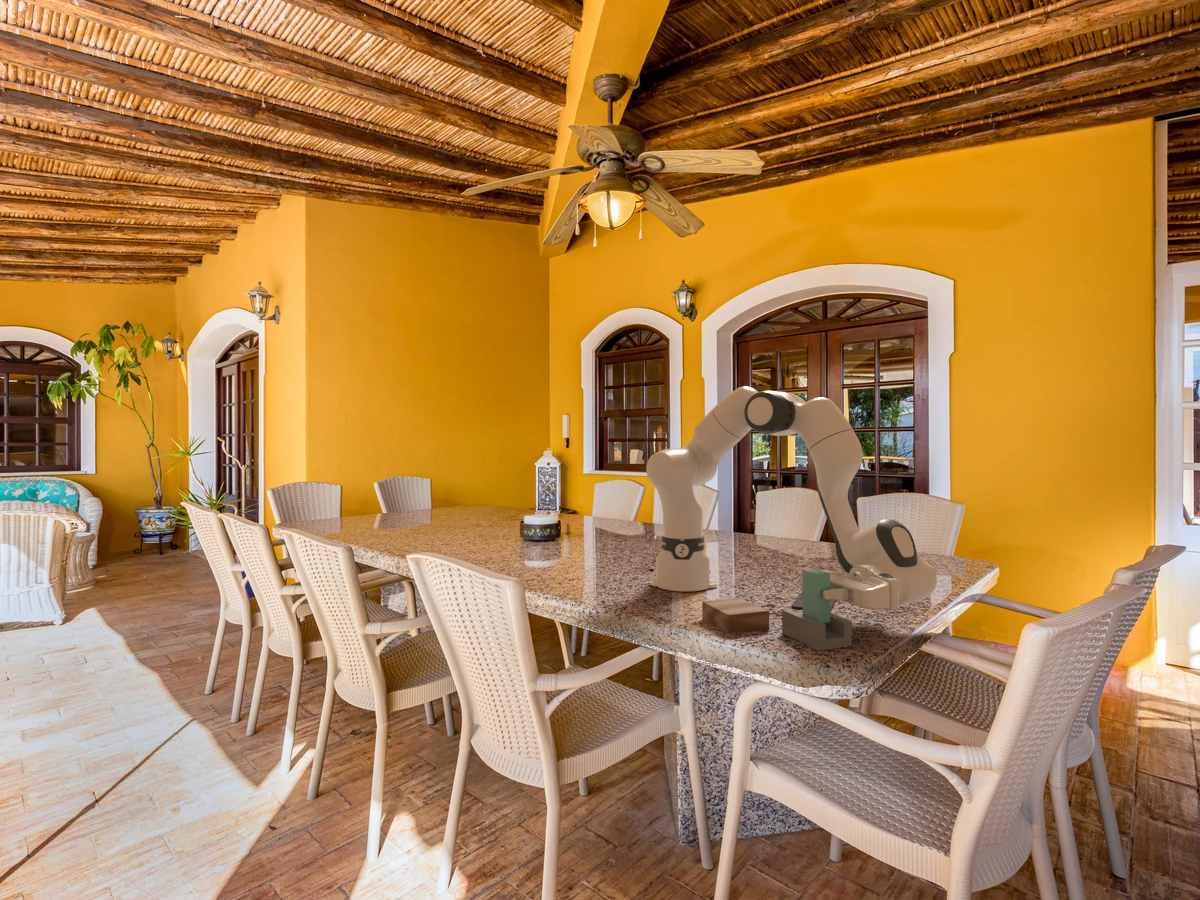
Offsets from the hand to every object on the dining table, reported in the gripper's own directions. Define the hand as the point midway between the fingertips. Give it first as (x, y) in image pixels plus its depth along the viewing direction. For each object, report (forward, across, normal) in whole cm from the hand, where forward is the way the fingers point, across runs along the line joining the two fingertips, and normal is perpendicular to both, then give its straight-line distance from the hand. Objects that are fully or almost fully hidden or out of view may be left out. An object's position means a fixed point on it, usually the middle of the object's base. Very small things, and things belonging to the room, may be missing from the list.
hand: (812, 591), depth 130 cm
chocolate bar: (-20, -26, +11) cm, 35 cm away
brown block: (+9, -16, +10) cm, 21 cm away
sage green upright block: (-1, 0, +6) cm, 6 cm away
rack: (-1, 0, +10) cm, 10 cm away
